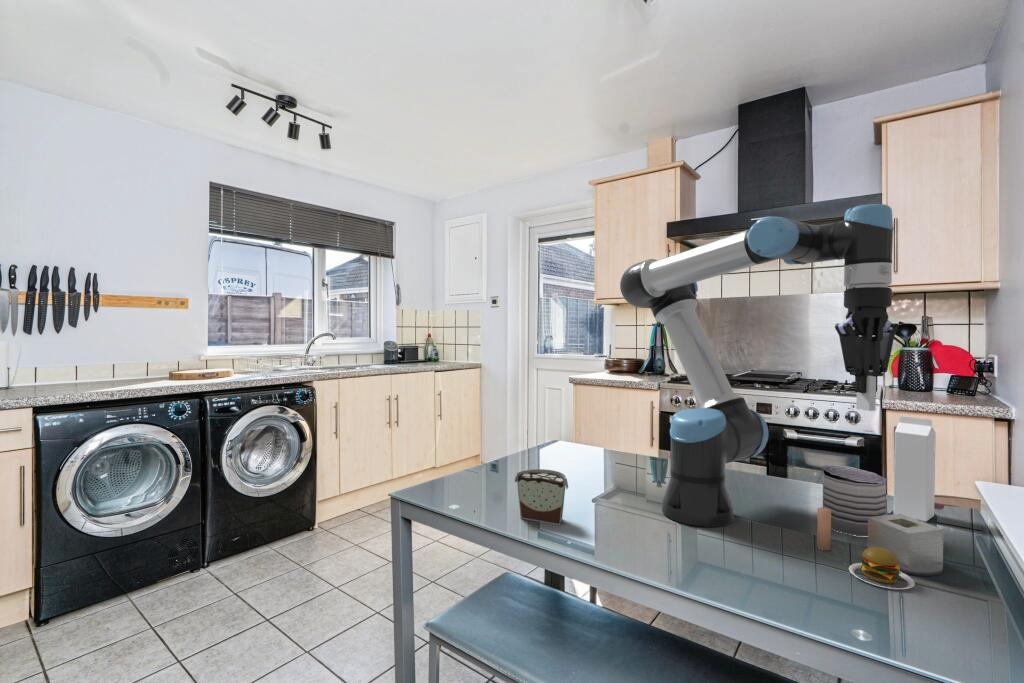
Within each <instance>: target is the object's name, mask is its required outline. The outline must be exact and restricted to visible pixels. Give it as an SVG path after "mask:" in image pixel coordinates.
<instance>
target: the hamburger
mask: <svg viewBox="0 0 1024 683" xmlns="http://www.w3.org/2000/svg"><path fill="white" fill-rule="evenodd" d="M898 564H899V560H898V558H897V557H896V555H895V554H893V553H892V552H891V551H889V550H887V549H884V548H881V547H870V548H867V549H866V548H865V550H863V552H862V554H861V558H860V562H855V563H852V564H851V565H849V567H848V571H849V572H850V574H851V575H852V576H854V577H855V578H857V579H860V580H861V581H863V582H865V583H867V584H869V585H873V586H876V587H878V588H882V589H890V590H908V589H912V588H914V587H915V585H916V584H915V581H914V579H913V578H911V576H909V574H906V573H902V572H900V567H899V565H898ZM857 569H861V571H862V573H863V575H864V576H865V577H866V578H868V579H869V580H872V581H874V582H877V583H881V584H887V585H889V584H891V585H892V584H895V583H897V582H898V581H899V578H902V579H904V580H905V581H906V583H907V586H906V587H901V588H898V587H897V588H896V587H889V586H883V585H880V584H879V585H878V584H875V583H873V582H869V581H867V580H865V579H862V578H861V577H860V576H858V574H856V572H855V571H856V570H857ZM900 576H901V577H900Z"/></svg>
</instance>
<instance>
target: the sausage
mask: <svg viewBox="0 0 1024 683" xmlns="http://www.w3.org/2000/svg"><path fill="white" fill-rule="evenodd" d="M816 517H817V525H816V527H817V528H816V529H817V530H816V532H817V533H816V535H817V536H816V540H817V541H816V542H817V543H816V548H817V547H818V548H820V549H823V550H830V549H831V548H832V545H831V544H832V541H831V540H832V529H831V510H830V509H827V508H823V507H818V508H817V516H816ZM818 548H817V549H818ZM820 549H819V550H820ZM823 550H822V551H823ZM830 551H831V550H830Z"/></svg>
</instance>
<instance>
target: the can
mask: <svg viewBox="0 0 1024 683" xmlns="http://www.w3.org/2000/svg"><path fill="white" fill-rule="evenodd" d="M820 469H822V508H827V509H830V510H831V530H832V529H833V530H832V531H834V530H835V531H834V532H836V531H838V532H837V533H839V532H842V533H841V534H843V533H847V534H851V535H856V536H868V517H875V516H884V515H887V481H888V479H887V478H885V477H883V476H881V475H880V474H877V473H875V472H873V471H868V470H864V469H861V468H856V467H852V466H848V465H847V466H844V465H834V464H826V465H824V466H821V467H820ZM847 534H846V535H847ZM851 535H850V536H851Z"/></svg>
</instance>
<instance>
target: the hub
mask: <svg viewBox="0 0 1024 683" xmlns="http://www.w3.org/2000/svg"><path fill="white" fill-rule="evenodd" d="M903 527H904V526H903ZM906 528H908V527H906ZM867 547H868V544H867V545H866V546H865V550H866V549H867ZM898 565H899V567H900V572H903V573H904V574H906V573H907V574H906V575H911V574H912V575H911V576H920V577H934V576H940V575H942V574H943V572H944V562H943V563H942V564H934V565H927V566H920V567H913V568H907V567H905V566H903V565H901V564H898Z"/></svg>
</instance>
